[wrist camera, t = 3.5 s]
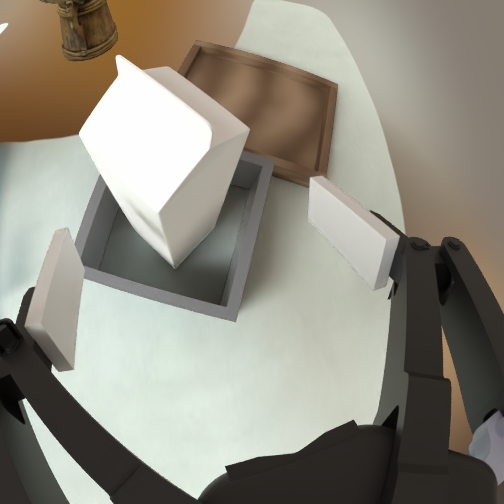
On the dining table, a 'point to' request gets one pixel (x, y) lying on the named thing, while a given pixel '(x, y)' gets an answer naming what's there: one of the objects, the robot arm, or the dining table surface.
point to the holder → (91, 252)
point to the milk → (164, 155)
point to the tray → (270, 106)
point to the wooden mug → (85, 28)
